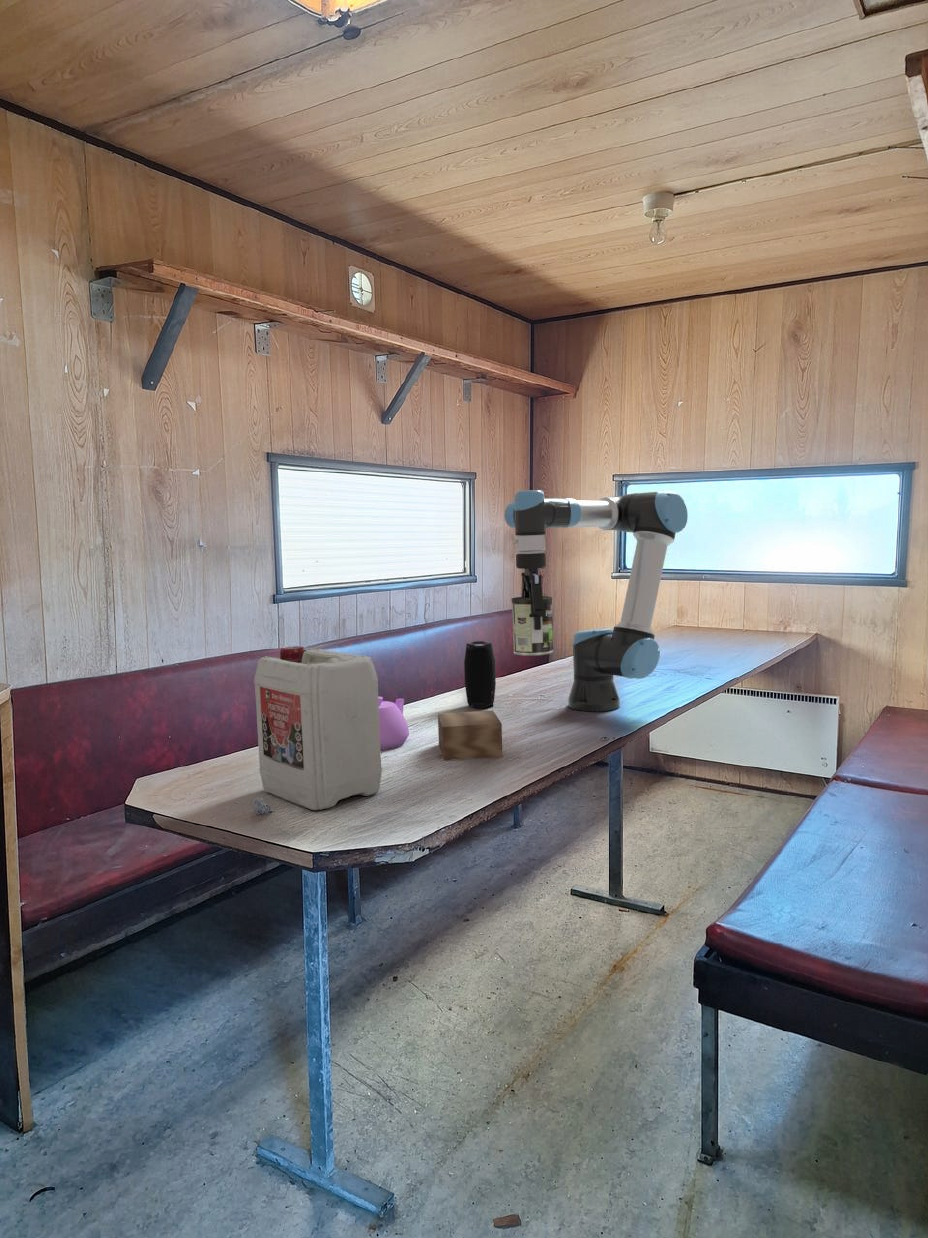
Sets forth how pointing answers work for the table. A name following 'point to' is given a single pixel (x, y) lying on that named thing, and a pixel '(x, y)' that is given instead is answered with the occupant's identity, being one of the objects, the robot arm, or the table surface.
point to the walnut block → (470, 735)
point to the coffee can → (523, 627)
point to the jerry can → (318, 726)
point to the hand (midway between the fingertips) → (533, 639)
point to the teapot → (392, 724)
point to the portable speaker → (479, 674)
